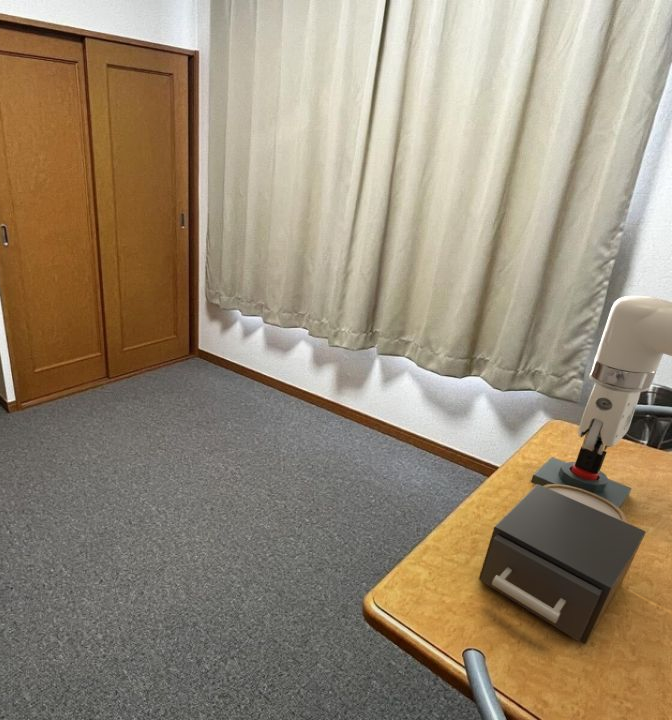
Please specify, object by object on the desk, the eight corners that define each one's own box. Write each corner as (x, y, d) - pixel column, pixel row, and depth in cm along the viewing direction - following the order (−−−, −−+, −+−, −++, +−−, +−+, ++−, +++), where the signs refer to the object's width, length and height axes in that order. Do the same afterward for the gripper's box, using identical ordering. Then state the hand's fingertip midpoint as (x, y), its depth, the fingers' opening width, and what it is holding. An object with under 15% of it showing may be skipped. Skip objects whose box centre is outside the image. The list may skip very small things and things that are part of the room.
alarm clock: (624, 501, 77) (634, 541, 65) (614, 527, 78) (622, 571, 67) (541, 475, 84) (537, 507, 72) (533, 500, 85) (527, 535, 73)
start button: (598, 477, 84) (602, 469, 83) (592, 485, 82) (595, 477, 81) (574, 467, 86) (577, 459, 86) (567, 475, 84) (570, 467, 84)
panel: (628, 495, 83) (635, 479, 82) (612, 518, 78) (619, 501, 77) (549, 463, 92) (554, 448, 91) (530, 482, 87) (535, 466, 86)
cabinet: (585, 644, 58) (611, 588, 55) (478, 578, 68) (494, 526, 64) (621, 584, 66) (646, 531, 63) (521, 532, 76) (537, 483, 72)
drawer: (566, 660, 56) (587, 614, 53) (467, 595, 64) (480, 551, 61) (613, 585, 65) (632, 541, 62) (521, 536, 74) (534, 496, 70)
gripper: (638, 395, 69) (599, 497, 76) (664, 368, 77) (626, 462, 84) (576, 379, 75) (545, 474, 82) (606, 355, 83) (576, 444, 90)
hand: (586, 468), depth 83 cm, fingers closed
